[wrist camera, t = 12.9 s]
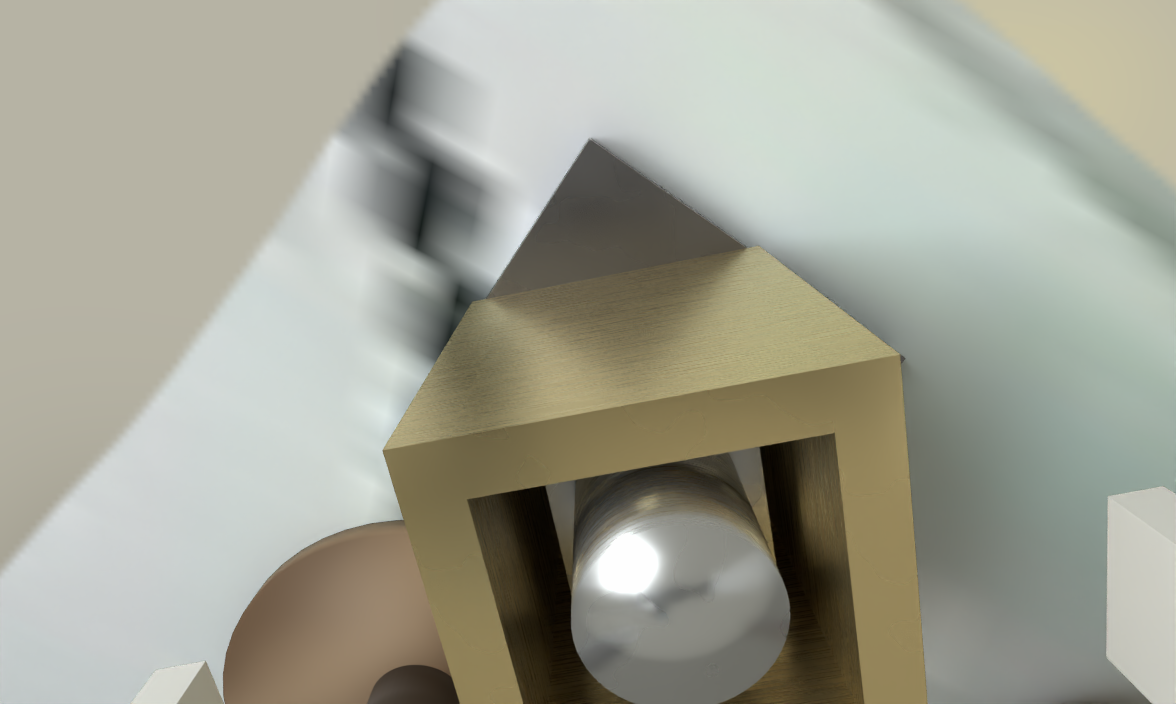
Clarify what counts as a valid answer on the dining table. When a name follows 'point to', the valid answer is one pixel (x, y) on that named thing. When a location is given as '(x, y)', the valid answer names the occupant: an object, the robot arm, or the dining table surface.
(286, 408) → the dining table surface
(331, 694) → the rod stand
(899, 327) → the dining table surface
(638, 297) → the brass sleeve
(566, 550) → the knob-topped grey block
